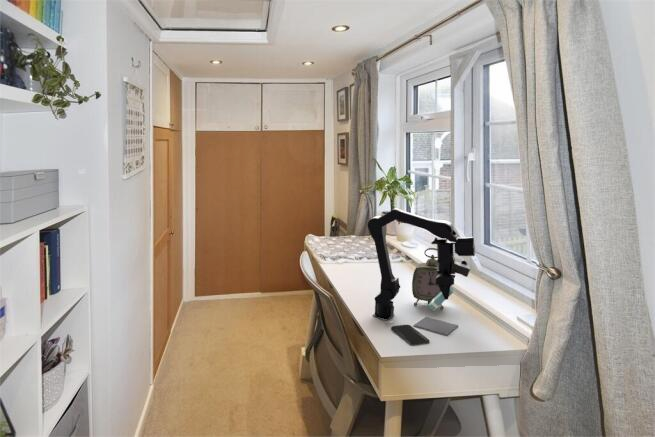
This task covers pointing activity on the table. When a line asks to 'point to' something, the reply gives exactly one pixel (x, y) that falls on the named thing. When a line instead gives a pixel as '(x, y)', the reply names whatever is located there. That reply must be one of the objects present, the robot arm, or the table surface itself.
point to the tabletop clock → (426, 280)
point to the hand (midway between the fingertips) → (446, 297)
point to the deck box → (439, 300)
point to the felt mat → (436, 326)
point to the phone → (410, 335)
